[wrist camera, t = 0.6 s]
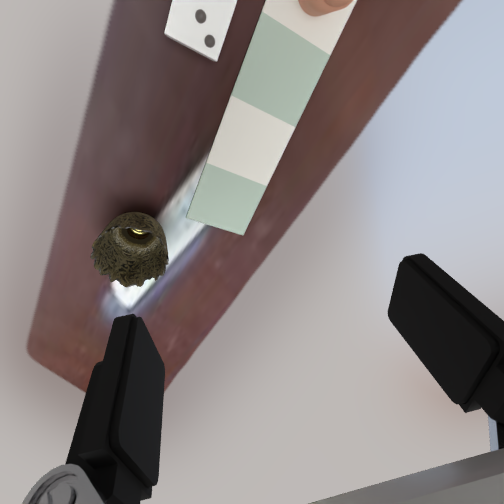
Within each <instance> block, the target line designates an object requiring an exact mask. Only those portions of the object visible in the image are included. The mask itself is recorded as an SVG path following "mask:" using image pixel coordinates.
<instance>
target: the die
mask: <svg viewBox="0 0 504 504" xmlns="http://www.w3.org/2000/svg"><path fill="white" fill-rule="evenodd" d="M236 3H237V0H172V4H171V8H170V12H169V16H168V20H167V25H166V29H165V35H166V36H167V37H169V38H170V39H172V40H174V41H176V42H178V43H180V44H182V45H184V46H186V47H187V48H189V49H191V50H193V51H195V52H197V53H199V54H201V55H202V56H204V57H206V58H208V59H210V60H212V61H217V60H218V57H219V54H220V51H221V48H222V45H223V42H224V39H225V36H226V33H227V30H228V27H229V24H230V21H231V18H232V15H233V12H234V9H235V6H236Z"/></svg>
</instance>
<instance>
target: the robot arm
mask: <svg viewBox="0 0 504 504" xmlns="http://www.w3.org/2000/svg"><path fill="white" fill-rule="evenodd" d="M388 317H389V319H390V321H391V322H392V324H393V325H394V326H395V328H396V329H397V330H398V331H399V333H400V334H401V335H402V337H403V338H404V339H405V341H406V342H407V343H408V345H409V346H410V347H411V348H412V350H413V351H414V352H415V354H416V355H417V356H418V358H419V359H420V360H421V362H422V363H423V364H424V365H425V367H426V368H427V369H428V370H429V372H430V373H431V374H432V376H433V377H434V378H435V380H436V381H437V382H438V384H439V385H440V386H441V388H442V389H443V390H444V391H445V393H446V394H447V395H448V397H449V398H450V399H451V400H452V401H453V402H454V403H455V404H459V405H460V406H461V408H462V409H463V410H464V412H465V413H467V412H470V411H474V410H478V409H481V407H482V409H483V410H484V411H485V412H486V413H487V414H488V422H489V435H490V450H491V452H488V453H485V454H481V455H478V456H474V457H471V458H467V459H463V460H460V461H456V462H453V463H449V464H445V465H442V466H438V467H435V468H432V469H428V470H425V471H421V472H417V473H414V474H410V475H407V476H403V477H400V478H396V479H393V480H389V481H386V482H382V483H379V484H375V485H372V486H368V487H365V488H361V489H358V490H354V491H351V492H347V493H344V494H340V495H337V496H334V497H330V498H327V499H323V500H319V501H316V502H312V503H309V504H504V321H503V320H502V319H501V318H499V317H498V316H497V315H496V314H495V313H493V312H492V311H491V310H490V309H489V308H488V307H486V306H485V305H484V304H483V303H482V302H480V301H479V300H478V299H477V298H476V297H474V296H473V295H472V294H471V293H469V292H468V291H467V290H466V289H465V288H464V287H462V286H461V285H460V284H459V283H458V282H457V281H455V280H454V279H453V278H452V277H451V276H449V275H448V274H447V273H446V272H445V271H444V270H442V269H441V268H440V267H439V266H438V265H436V264H435V263H434V262H433V261H432V260H430V259H429V258H428V257H427V256H426V255H424V254H415V255H411V256H406V257H404V258H403V260H402V262H400V264H399V267H398V271H397V276H396V279H395V283H394V288H393V292H392V296H391V300H390V304H389V308H388ZM164 380H165V367H164V363H163V361H162V359H161V357H160V355H159V353H158V351H157V348H156V346H155V344H154V342H153V340H152V338H151V336H150V334H149V332H148V330H147V328H146V326H145V324H144V321H143V319H142V318H141V317H136V316H135V315H134V314H130V315H125V316H121V317H116V318H115V319H114V321H113V325H112V329H111V333H110V336H109V340H108V344H107V348H106V352H105V355H104V359H103V361H101V362H98V363H97V364H96V365H95V366H94V369H93V371H92V374H91V378H90V381H89V385H88V388H87V392H86V395H85V399H84V402H83V405H82V409H81V412H80V416H79V419H78V423H77V426H76V429H75V433H74V436H73V440H72V443H71V447H70V450H69V454H68V457H67V461H66V464H65V465H61V466H59V467H56V468H54V469H52V470H51V471H49V472H48V473H47V474H45V475H44V476H43V477H42V478H41V479H40V480H39V481H38V482H37V483H36V484H35V485H34V486H33V487H32V488H31V490H30V492H29V493H28V495H27V496H26V498H25V499H24V501H23V504H140V501H141V500H145V499H149V498H151V495H152V486H155V485H156V484H157V482H158V476H159V459H160V444H161V428H162V412H163V396H164Z"/></svg>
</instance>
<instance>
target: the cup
mask: <svg viewBox="0 0 504 504" xmlns="http://www.w3.org/2000/svg"><path fill="white" fill-rule="evenodd" d="M92 249H93V252H92V254H91V259H95V261H94V267H95V269H97V270H99V271H100V275H107V274H109V279H110V281H111V282H113V281H115V280H117V281H119V282H120V284H121V285H123V286H125V287H130V286H133V285H137V286H139V287H141V286H142V285H143V284H144V281H145V280H147V279H148V280H150V279H151V278H155V280H157V279H158V277H159V276H163V275H164V273H165V270H166V265H168V261H169V259H168V251H167V243H166V237H165V234H164V231H163V229H162V227H161V225H160V224H159V223H158V222H157V221H156V220H155V219H154V218H152V217H151V216H149V215H147V214H144V213H140V212H128V213H124V214H121V215H119V216H118V217H116V218H115V219H113V220H112V221H111V222H110V223H109V224H108V225H107V227H106V228H105V229H104V230H103V232H102V233H101V234H100V235H99V237H98V238H97V239H96V240H95V242H94V243H93V245H92Z"/></svg>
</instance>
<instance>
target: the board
mask: <svg viewBox="0 0 504 504" xmlns="http://www.w3.org/2000/svg"><path fill="white" fill-rule="evenodd" d="M356 1H357V0H353V1H352V2H351V3H350V4H349V5H348V6H347V7H345V8H344V9H341V10H338V11H334V12H331V13H328V14H324V15H321V16H310V15H308V14H307V13H305V12H304V11H303V9H302V8H301V6H300V4H299V1H298V0H266V1H265V4H264V6H263V9H262V12H261V14H260V17H259V20H258V23H257V25H256V28H255V31H254V33H253V36H252V39H251V42H250V44H249V47H248V50H247V53H246V55H245V58H244V61H243V63H242V66H241V69H240V72H239V74H238V77H237V80H236V82H235V85H234V88H233V91H232V93H231V96H230V99H229V102H228V104H227V107H226V110H225V112H224V115H223V118H222V121H221V123H220V126H219V129H218V131H217V134H216V137H215V140H214V142H213V145H212V148H211V151H210V153H209V156H208V159H207V161H206V164H205V167H204V170H203V172H202V175H201V178H200V180H199V183H198V186H197V189H196V191H195V194H194V197H193V200H192V202H191V205H190V208H189V210H188V213H187V216H186V218H188V219H191V220H194V221H198V222H201V223H204V224H207V225H211V226H214V227H217V228H221V229H224V230H227V231H230V232H234V233H237V234H240V235H244V232H245V230H246V228H247V226H248V224H249V222H250V220H251V218H252V216H253V214H254V212H255V210H256V208H257V206H258V204H259V202H260V199H261V197H262V195H263V193H264V191H265V189H266V187H267V185H268V183H269V181H270V179H271V177H272V175H273V173H274V171H275V169H276V166H277V164H278V162H279V160H280V158H281V156H282V154H283V152H284V150H285V148H286V146H287V144H288V142H289V140H290V138H291V135H292V133H293V131H294V129H295V127H296V125H297V123H298V121H299V119H300V117H301V115H302V113H303V111H304V109H305V107H306V105H307V102H308V100H309V98H310V96H311V94H312V92H313V90H314V88H315V86H316V84H317V82H318V80H319V78H320V76H321V74H322V72H323V69H324V67H325V65H326V63H327V61H328V59H329V57H330V55H331V53H332V51H333V49H334V47H335V45H336V43H337V41H338V38H339V36H340V34H341V32H342V30H343V28H344V26H345V24H346V22H347V20H348V18H349V16H350V14H351V12H352V10H353V8H354V5H355V3H356Z"/></svg>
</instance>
